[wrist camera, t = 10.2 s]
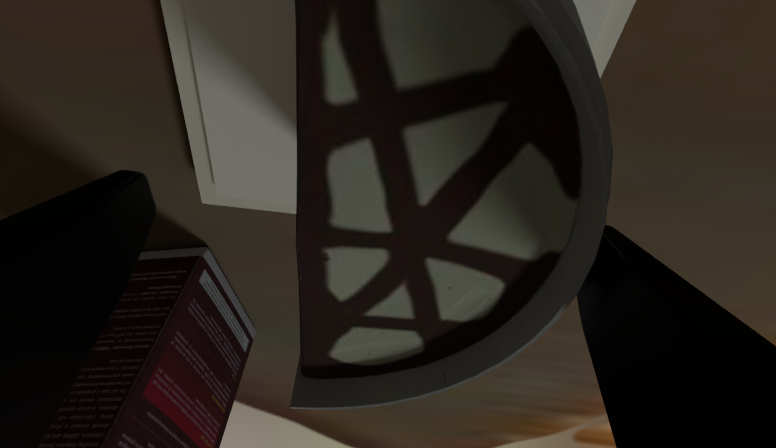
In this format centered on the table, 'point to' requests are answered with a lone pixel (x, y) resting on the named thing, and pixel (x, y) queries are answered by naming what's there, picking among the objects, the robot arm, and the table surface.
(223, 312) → the supplement box
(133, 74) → the table surface
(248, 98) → the white square tray
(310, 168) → the food container
